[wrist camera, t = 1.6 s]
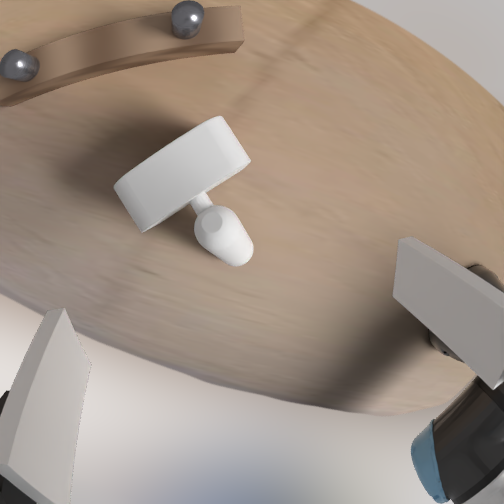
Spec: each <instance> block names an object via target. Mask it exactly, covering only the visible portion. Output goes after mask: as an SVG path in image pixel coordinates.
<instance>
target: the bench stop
mask: <svg viewBox="0 0 504 504" xmlns="http://www.w3.org/2000/svg"><path fill="white" fill-rule="evenodd" d="M244 41H245V38H244V30H243V22H242V14H241V7H240V6H223V7H209V8H203V7H202V6H201V5H200V4H199V3H198V2H195V1H190V0H188V1H183V2H180V3H178V4H177V5H176V6H175V7H174V8H173V10H172V12H167V13H161V14H155V15H149V16H144V17H139V18H134V19H129V20H125V21H121V22H116V23H112V24H109V25H105V26H101V27H97V28H94V29H90V30H87V31H84V32H81V33H77V34H74V35H71V36H68V37H65V38H62V39H60V40H57V41H54V42H51V43H49V44H46V45H44V46H41V47H39V48H36V49H34V50H31V51H29V52H27V53H24V52H22V51H20V50H17V49H14V50H11V51H9V52H8V53H6V54H5V55H4V57H3V58H2V60H1V62H0V106H14V105H16V104H18V103H21V102H23V101H26V100H28V99H31V98H33V97H36V96H38V95H41V94H44V93H46V92H49V91H52V90H55V89H58V88H61V87H63V86H67V85H70V84H73V83H76V82H79V81H82V80H86V79H89V78H93V77H96V76H100V75H104V74H107V73H111V72H115V71H119V70H124V69H128V68H132V67H137V66H142V65H147V64H152V63H157V62H163V61H168V60H175V59H181V58H188V57H196V56H204V55H213V54H223V53H235V52H236V50H237V49H238V48H239V47H240V46H241V44H242V43H243V42H244Z"/></svg>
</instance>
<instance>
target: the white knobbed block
mask: <svg viewBox="0 0 504 504" xmlns="http://www.w3.org/2000/svg"><path fill="white" fill-rule="evenodd" d="M250 162H251V160H250V159H249V157H248V156H247V154H246V152H245V151H244V149H243V148H242V146H241V145H240V143H239V142H238V140H237V138H236V137H235V135H234V134H233V132H232V131H231V129H230V128H229V126H228V125H227V123H226V122H225V120H224V119H223V117H222V116H216V117H213V118H211V119H209V120H207V121H205V122H203V123H201V124H200V125H198V126H196V127H195V128H193V129H191V130H190V131H188V132H187V133H185V134H183V135H182V136H180V137H179V138H177V139H176V140H174V141H172V142H171V143H169V144H168V145H166V146H165V147H163V148H162V149H160V150H159V151H157V152H156V153H155V154H153V155H152V156H150V157H149V158H147V159H146V160H144V161H143V162H142V163H140V164H139V165H137V166H136V167H135V168H133V169H132V170H130V171H129V172H128V173H126V174H125V175H124V176H122V177H121V178H120V179H119V180H118V181H117V182H116V183H115V185H114V190H115V191H116V193H117V195H118V196H119V198H120V199H121V201H122V203H123V204H124V206H125V208H126V209H127V211H128V212H129V214H130V215H131V217H132V219H133V220H134V222H135V223H136V225H137V226H138V228H139V230H140V231H141V233H142V232H144V231H146V230H148V229H150V228H152V227H154V226H156V225H158V224H159V223H161V222H162V221H164V220H165V219H167V218H168V217H170V216H171V215H173V214H174V213H176V212H177V211H179V210H180V209H182V208H183V207H185V206H186V205H188V204H189V203H190V204H191V206H192V208H193V209H194V211H195V212H196V214H197V215H198V217H197V218H196V221H195V225H194V232H195V236H196V238H197V240H198V242H199V243H200V244H201V245H202V246H203V247H204V248H205V249H207V250H208V251H209V252H211V253H212V254H214V255H215V256H216V257H218V258H219V259H221V260H222V261H224V262H225V263H226V264H228V265H231V266H241V265H243V264H245V263H247V262H248V261H249V260H250V258H251V256H252V254H253V243H252V241H251V239H250V238H249V236H248V234H247V232H246V231H245V229H244V227H243V226H242V224H241V222H240V220H239V219H238V217H237V216H236V214H235V213H234V212H233V211H232V210H230V209H229V208H227V207H224V206H219V205H215V206H214V205H213V203H212V202H211V200H210V199H209V197H208V196H207V194H206V192H208V191H209V190H211V189H213V188H214V187H216V186H217V185H219V184H220V183H222V182H224V181H225V180H227V179H228V178H230V177H231V176H233V175H235V174H236V173H238V172H239V171H241V170H242V169H244V168H245V167H246V166H247V165H248V164H249V163H250Z"/></svg>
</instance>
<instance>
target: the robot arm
mask: <svg viewBox="0 0 504 504" xmlns="http://www.w3.org/2000/svg"><path fill="white" fill-rule="evenodd" d="M393 297H394V298H395V299H396V300H397V301H398V302H399V303H401V304H402V305H403V306H404V307H405V308H406V309H407V310H408V311H410V312H411V313H412V314H413V315H414V316H415V317H416V318H417V319H418V320H420V321H421V322H422V323H423V324H424V325H425V326H426V327H427V328H428V329H430V331H429V337H430V341H431V343H432V345H433V346H434V347H435V348H436V349H437V350H438V351H439V352H440V353H442V354H443V355H446V356H450V357H452V358H454V359H456V360H458V361H461V362H463V363H466V364H467V365H468V366H469V367H470V368H471V369H472V370H473V371H474V372H475V373H476V374H477V375H478V376H477V377H476V378H475V379H474V380H473V381H472V382H471V383H470V384H469V386H468V387H467V388H466V389H465V390H464V391H463V392H462V393H461V394H460V395H459V396H458V397H457V398H456V399H455V400H454V401H453V402H452V403H451V405H449V406H448V407H447V408H446V409H445V411H443V412H442V413H441V414H440V415H439V416H438V417H437V418H436V419H433V420H432V421H431V422H430V424H429V425H428V426H427V427H426V428H425V429H424V430H423V431H422V432H421V433H420V434H419V435H418V436H417V437H416V438H415V439H414V441H413V443H412V446H411V456H412V461H413V464H414V467H415V470H416V472H417V475H418V477H419V479H420V481H421V483H422V484H423V486H424V488H425V489H426V491H427V492H428V494H429V495H430V496H432V497H433V499H434V500H435V501H436V502H437V503H444V502H448V501H449V500H450V499H451V500H452V501H453V502H454V504H504V285H503V284H502V283H501V281H500V280H499V279H498V277H497V276H496V274H495V273H493V272H492V271H490V270H489V269H487V268H486V267H484V266H481V265H477V266H473V267H471V268H469V269H466V268H464V267H463V266H461V265H460V264H458V263H456V262H455V261H453V260H451V259H450V258H448V257H447V256H445V255H443V254H442V253H440V252H438V251H436V250H435V249H433V248H431V247H430V246H428V245H426V244H424V243H423V242H421V241H419V240H418V239H416V238H414V237H412V236H411V237H407V238H403V239H399V240H398V252H397V262H396V272H395V280H394V288H393ZM90 368H91V363H90V361H89V359H88V357H87V355H86V353H85V351H84V349H83V347H82V345H81V343H80V341H79V339H78V337H77V335H76V332H75V330H74V328H73V326H72V324H71V321H70V319H69V317H68V315H67V312H66V310H65V308H60V309H54V310H48V311H47V313H46V315H45V317H44V319H43V321H42V322H41V324H40V326H39V328H38V330H37V333H36V334H35V336H34V339H33V340H32V342H31V344H30V347H29V349H28V351H27V353H26V355H25V357H24V359H23V362H22V364H21V366H20V369H19V371H18V373H17V375H16V378H15V380H14V382H13V385H12V387H11V390H10V391H6V392H5V393H4V394H3V396H2V397H1V398H0V504H70V501H71V500H70V499H71V487H72V476H73V467H74V458H75V451H76V444H77V437H78V430H79V424H80V418H81V413H82V407H83V402H84V396H85V391H86V387H87V382H88V377H89V373H90Z"/></svg>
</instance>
